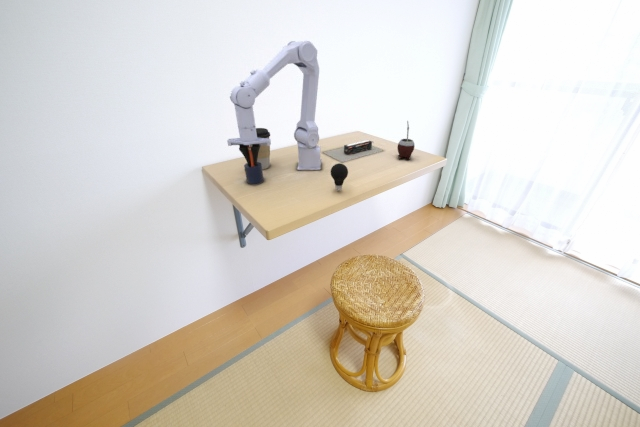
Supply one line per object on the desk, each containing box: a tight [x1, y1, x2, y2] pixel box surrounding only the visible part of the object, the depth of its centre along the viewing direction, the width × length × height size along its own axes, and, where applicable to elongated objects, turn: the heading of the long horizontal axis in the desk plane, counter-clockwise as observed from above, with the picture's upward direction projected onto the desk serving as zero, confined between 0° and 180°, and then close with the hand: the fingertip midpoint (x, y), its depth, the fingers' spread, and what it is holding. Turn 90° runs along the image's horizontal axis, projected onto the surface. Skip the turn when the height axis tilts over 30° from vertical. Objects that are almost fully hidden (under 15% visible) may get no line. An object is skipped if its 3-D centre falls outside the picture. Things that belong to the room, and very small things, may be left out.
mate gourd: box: [396, 120, 415, 161], centre depth 113 cm, size 8×8×15 cm
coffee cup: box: [249, 127, 271, 170], centre depth 105 cm, size 9×9×15 cm
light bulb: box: [330, 162, 349, 192], centre depth 88 cm, size 6×6×10 cm
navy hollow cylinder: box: [243, 162, 265, 186], centre depth 96 cm, size 6×6×6 cm
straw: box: [248, 146, 255, 167], centre depth 93 cm, size 2×2×9 cm
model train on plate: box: [323, 139, 383, 163], centre depth 123 cm, size 14×25×4 cm, turn 124°
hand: (252, 164), depth 94 cm, fingers closed on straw, 1 cm apart
